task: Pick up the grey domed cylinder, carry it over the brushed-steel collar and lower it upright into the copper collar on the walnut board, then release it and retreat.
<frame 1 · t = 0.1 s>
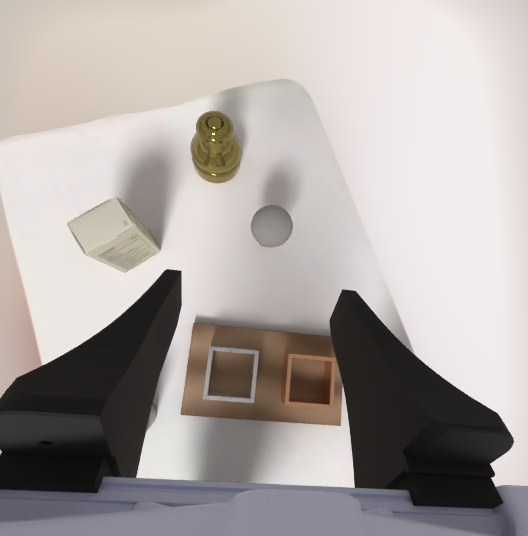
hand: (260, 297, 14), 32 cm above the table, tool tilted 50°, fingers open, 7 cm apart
copper collar: (303, 376, 45), resting on walnut board
steel collar: (231, 370, 44), resting on walnut board
light bulb: (264, 241, 48), on the table
skincare box: (134, 251, 45), on the table
grey domed cylinder: (143, 414, 41), on the table
gold chess piece: (216, 163, 50), on the table
walnut board: (265, 373, 44), on the table
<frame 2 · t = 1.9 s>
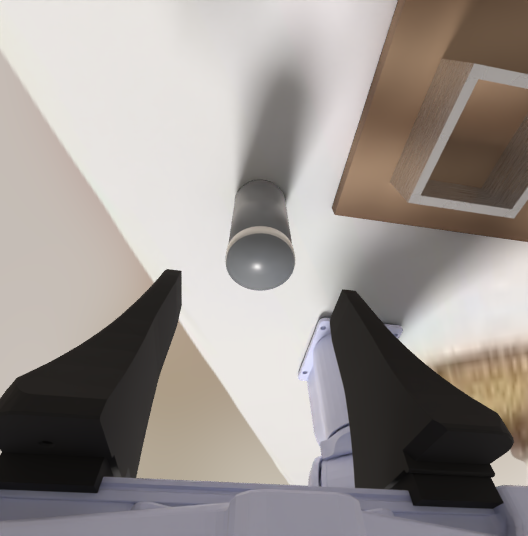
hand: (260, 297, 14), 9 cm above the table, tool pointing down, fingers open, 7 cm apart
steel collar: (456, 131, 19), resting on walnut board
grey domed cylinder: (260, 204, 21), on the table
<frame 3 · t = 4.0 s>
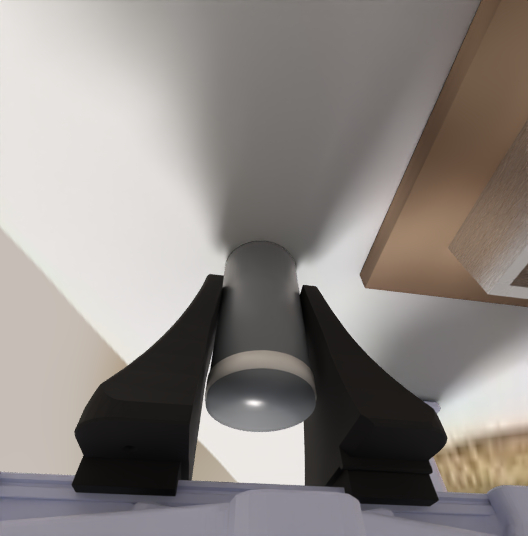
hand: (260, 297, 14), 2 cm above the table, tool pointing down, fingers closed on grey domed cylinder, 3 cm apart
grey domed cylinder: (260, 270, 15), on the table, touching gripper
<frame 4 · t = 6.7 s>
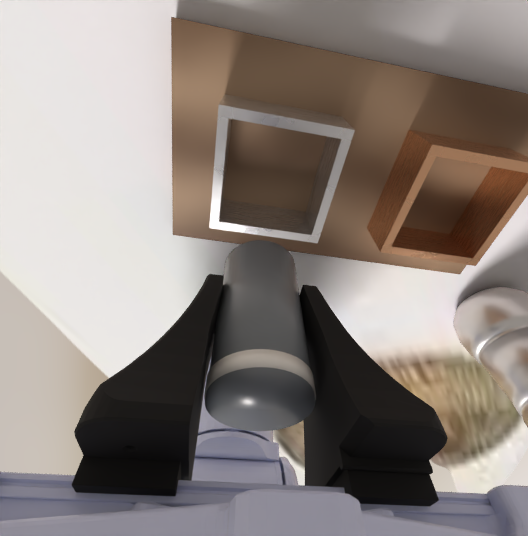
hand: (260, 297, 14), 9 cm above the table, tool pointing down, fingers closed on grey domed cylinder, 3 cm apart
copper collar: (426, 185, 21), resting on walnut board
steel collar: (272, 159, 19), resting on walnut board
plastic bottle: (482, 303, 28), on the table
grey domed cylinder: (260, 270, 15), point 8 cm above the table, touching gripper
walnut board: (348, 172, 20), on the table
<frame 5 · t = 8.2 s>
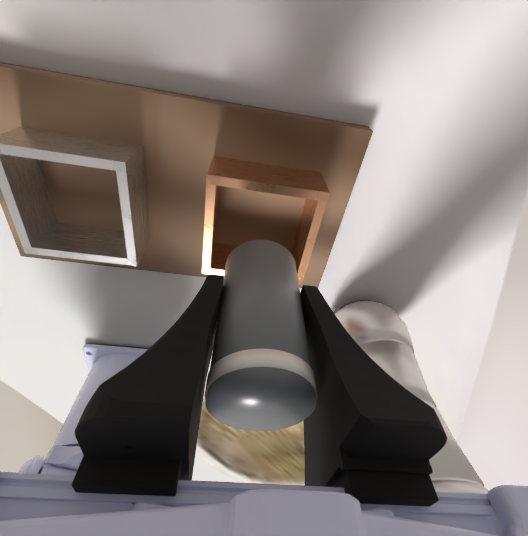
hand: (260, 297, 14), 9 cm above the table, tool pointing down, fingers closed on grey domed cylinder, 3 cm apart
copper collar: (260, 206, 21), resting on walnut board
steel collar: (100, 183, 20), resting on walnut board
plastic bottle: (358, 315, 28), on the table
grey domed cylinder: (260, 269, 15), point 7 cm above the table, touching gripper
walnut board: (178, 194, 21), on the table
when the fingers open (4 cm above the table, at t = 9.6 s): grey domed cylinder drops 1 cm, resting on walnut board.
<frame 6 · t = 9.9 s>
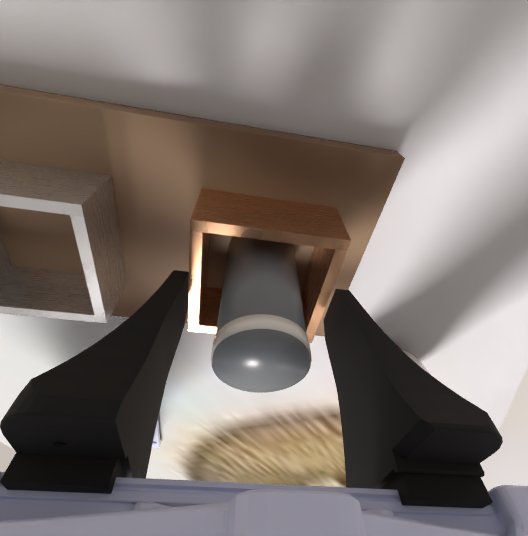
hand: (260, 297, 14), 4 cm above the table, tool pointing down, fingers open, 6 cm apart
copper collar: (260, 243, 17), resting on walnut board
steel collar: (63, 218, 16), resting on walnut board
grey domed cylinder: (261, 252, 16), point 1 cm above the table, touching walnut board
walnut board: (160, 230, 17), on the table
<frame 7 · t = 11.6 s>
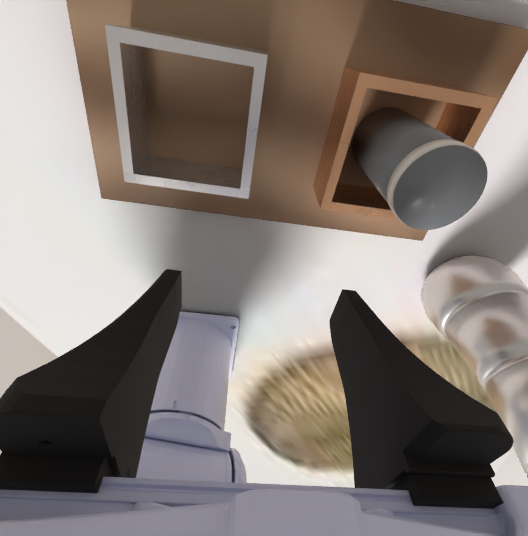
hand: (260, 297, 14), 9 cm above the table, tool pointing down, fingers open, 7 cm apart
copper collar: (376, 137, 19), resting on walnut board
steel collar: (201, 108, 18), resting on walnut board
plastic bottle: (453, 275, 26), on the table
grey domed cylinder: (382, 140, 18), point 1 cm above the table, touching walnut board
walnut board: (286, 122, 18), on the table
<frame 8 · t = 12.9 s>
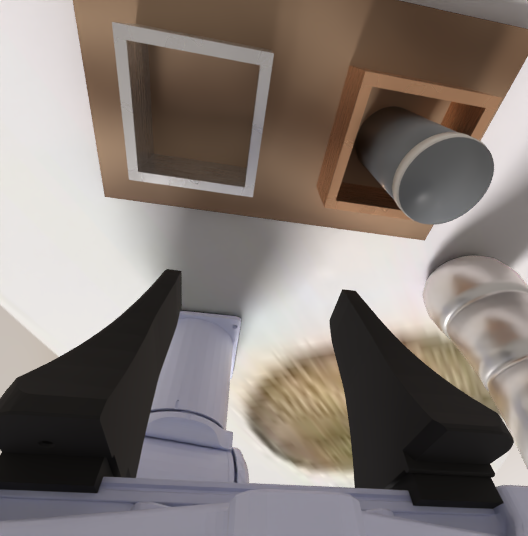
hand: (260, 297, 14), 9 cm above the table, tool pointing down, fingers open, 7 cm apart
copper collar: (379, 137, 19), resting on walnut board
steel collar: (205, 107, 18), resting on walnut board
plastic bottle: (454, 275, 26), on the table
grey domed cylinder: (386, 140, 18), point 1 cm above the table, touching walnut board
walnut board: (290, 121, 18), on the table
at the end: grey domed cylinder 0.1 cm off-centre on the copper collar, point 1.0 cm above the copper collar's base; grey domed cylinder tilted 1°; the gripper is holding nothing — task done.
